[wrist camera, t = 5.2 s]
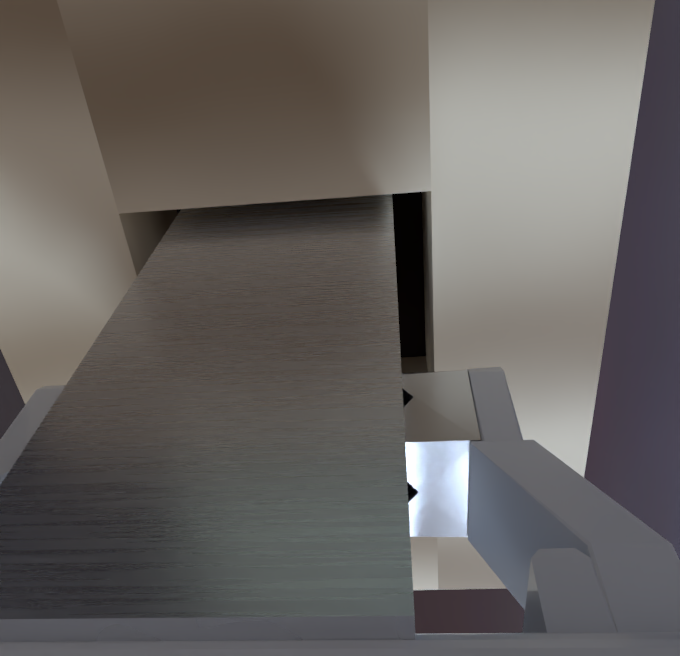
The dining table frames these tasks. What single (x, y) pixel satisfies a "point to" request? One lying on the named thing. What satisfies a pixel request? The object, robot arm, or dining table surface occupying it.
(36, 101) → the frame
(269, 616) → the aluminium block
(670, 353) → the dining table surface
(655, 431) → the dining table surface
